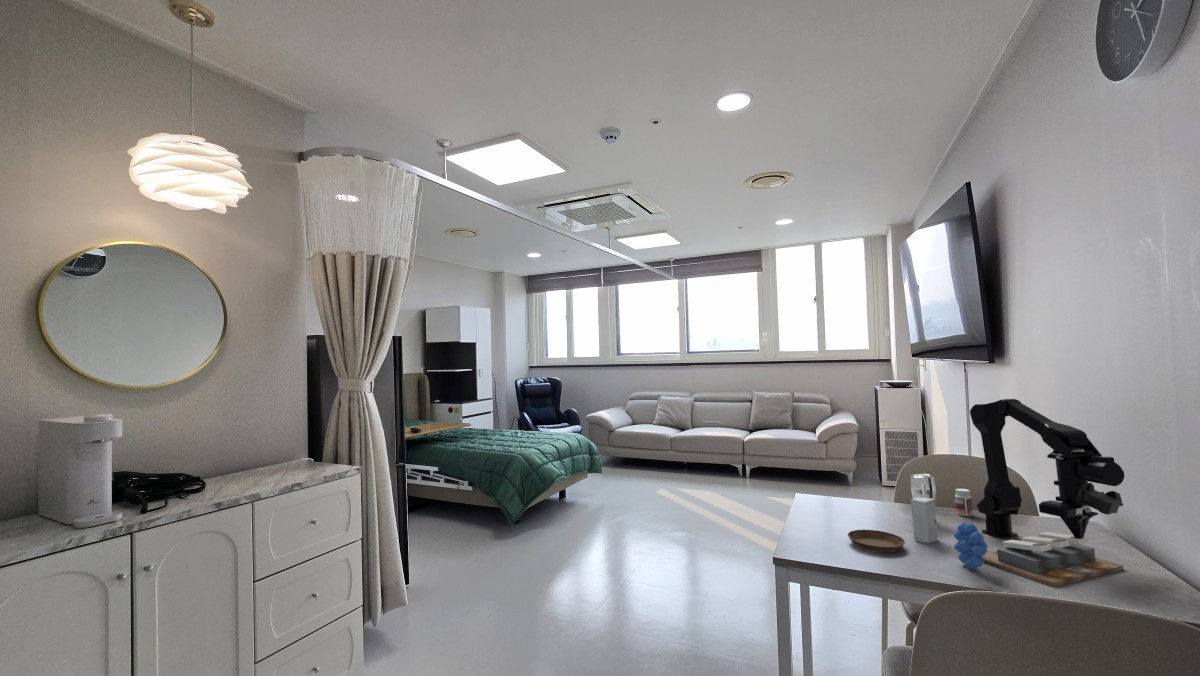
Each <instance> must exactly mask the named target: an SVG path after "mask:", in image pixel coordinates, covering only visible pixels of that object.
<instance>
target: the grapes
mask: <svg viewBox="0 0 1200 676" xmlns="http://www.w3.org/2000/svg"><path fill="white" fill-rule="evenodd" d="M956 529H957V530H956V531H955V532H954V533H953V537H954V539H956V541H957V542H955V544H954V546H953V548H954V549H955V550H956V551H957V552H958V553H960V554H959V555H958V559H959V561H960V562H961V563H962V564H964V565H965V566H966V567H967V568H968V569H969V570H971V571H974V570H977V568H981V567H982V566H984V564H985V563H984V562H985V560H984V559H983V558H982V556H984V555H985V554H987V549H988V547H989V545H988V544H987V542H985V541H984V538H985V537H984V536H983V534H981V533H980V532H979V530H978V528H977V526H976V525H974V523H971V522H970V523H969V522H968V523H967V522H961V523H959V525H958V526H957V527H956Z"/></svg>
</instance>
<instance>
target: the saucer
mask: <svg viewBox="0 0 1200 676" xmlns="http://www.w3.org/2000/svg"><path fill="white" fill-rule="evenodd" d="M847 537H848V539H849V540H850V541H851V542H852V543H853V544H854V545H855V546H856V547H858V548H860V549H861V550H864V549H865V551H867V550H869V551H868V552H872V551H873V553H878V552H880V554H882V553H883V554H887V553H888V554H889V553H890V552H891V553H895V552H898V551H899V550H900V549H902V547H904V545H905V544H906V541H905V539H904V538H903V537H900V536H899V535H896V534H894V533H890V532H886V531H881V530H874V529H856V530H850V531H849V532H848V533H847Z"/></svg>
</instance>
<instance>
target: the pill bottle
mask: <svg viewBox="0 0 1200 676" xmlns="http://www.w3.org/2000/svg"><path fill="white" fill-rule="evenodd" d="M954 502H955V503H954V504H955V512H956V514H957V515H959V516H962V517H963V516H964V517H971V516H972V517H973V515H974V509H973V498H972V496H971V491H970V490H969V489H966V488H955V495H954Z"/></svg>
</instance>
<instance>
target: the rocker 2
mask: <svg viewBox="0 0 1200 676" xmlns="http://www.w3.org/2000/svg"><path fill="white" fill-rule="evenodd" d="M1038 537H1042V538H1050V539H1063V540H1067V541H1069V543H1072V544H1079V545H1083V544H1088V543H1089V540H1088V537H1085V536H1084V538H1083V539H1079V538H1077V537H1074V535H1073V534H1064V533H1058V532H1051V531H1045V532H1040V533H1038Z"/></svg>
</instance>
